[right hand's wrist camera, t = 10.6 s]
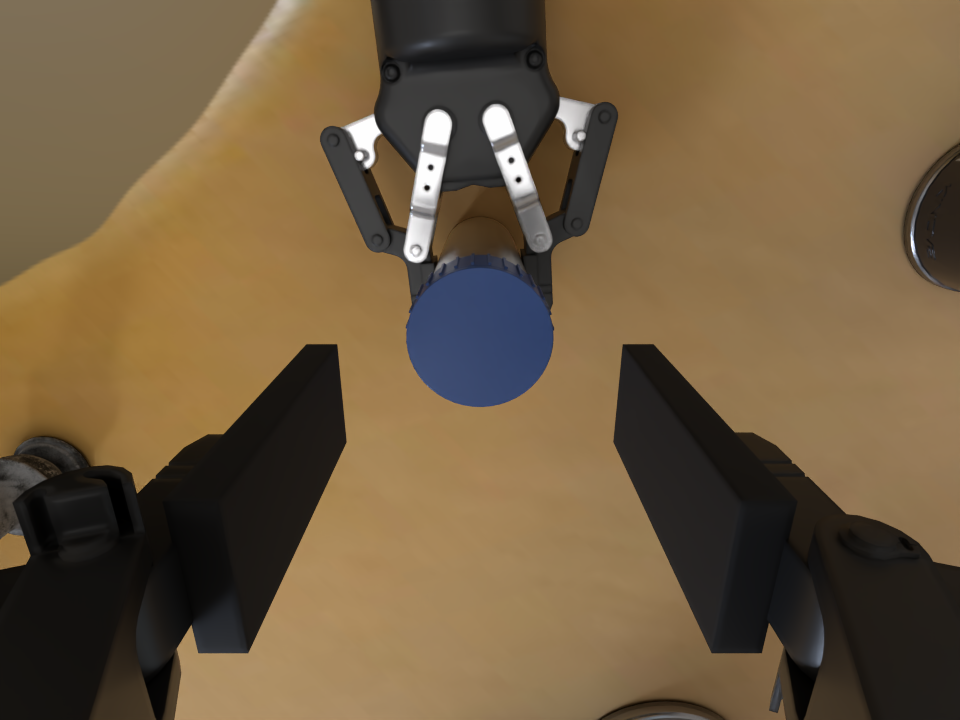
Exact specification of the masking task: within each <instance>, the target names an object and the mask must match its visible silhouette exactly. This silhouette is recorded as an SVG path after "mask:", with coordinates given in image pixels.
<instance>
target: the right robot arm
mask: <svg viewBox="0 0 960 720" xmlns="http://www.w3.org/2000/svg"><path fill="white" fill-rule="evenodd" d="M345 444H346V432H345V421H344V411H343V400H342V390H341V379H340V369H339V358H338V348H337V344H306V345H305V347H304V348H303V349H302V350H301V351H300V352H299V353H298V354H297V355H296V356H295V357H294V359H293V360H292V361H291V362H290V363H289V364H288V365H287V366H286V367H285V368H284V369H283V370H282V372H281V373H280V374H279V375H278V376H277V377H276V378H275V379H274V380H273V381H272V382H271V383H270V385H269V386H268V387H267V388H266V389H265V390H264V391H263V392H262V393H261V394H260V395H259V397H258V398H257V399H256V400H255V401H254V402H253V403H252V404H251V405H250V406H249V407H248V408H247V410H246V411H245V412H244V413H243V414H242V415H241V416H240V417H239V418H238V419H237V420H236V422H235V423H234V424H233V425H232V426H231V427H230V428H229V429H228V430H227V431H226V432H225V433H224V434H208V435H206V436H204V437H202V438H201V439H199V440H197V441H195V442H193V443H192V444H190V445H188V446H186V447H184V448H183V449H182V450H181V451H180V452H179V453H178V454H177V455H176V456H175V457H174V458H173V459H172V460H171V461H170V462H169V466H165V467H164V468H163V469H162V470H161V471H160V472H159V473H158V474H157V475H156V479H152V480H151V481H150V482H149V483H148V484H147V485H146V486H145V487H144V488H143V489H142V490H141V491H140V492H139V493H138V494H137V492H136V488H135V484H134V480H133V476H132V473H131V472H129V471H128V470H126V469H125V468H123V467H116V466H109V465H105V466H93V467H85V468H81V469H77V470H72V471H68V472H64V473H62V474H59V475H57V476H54V477H51V478H49V479H46V480H43V481H42V482H40V483H38V484H36V485H35V486H33V487H31V488H29V489H27V490H26V491H24V492H23V493H22V494H21V495H20V496H19V497H18V498H17V499H16V500H15V501H14V502H12V504H13V506H14V509H15V512H16V515H17V518H18V521H19V523H20V526H21V529H22V532H23V535H24V538H25V541H26V543H27V546H28V549H29V552H30V555H31V557H30V558H29V560H28V562H27V564H26V565H22V566H17V567H12V568H7V569H2V570H0V720H174V718H175V711H176V704H177V698H178V691H179V684H180V678H181V668H180V660H179V657H178V653H177V647H178V645H179V644H180V642H181V641H182V639H183V637H184V636H185V634H186V632H187V631H188V629H189V628H190V626H191V624H192V628H193V633H194V637H195V641H196V645H197V649H198V653H248V652H249V650H250V648H251V646H252V644H253V642H254V640H255V637H256V635H257V633H258V631H259V629H260V627H261V625H262V622H263V620H264V618H265V616H266V614H267V612H268V610H269V607H270V605H271V603H272V601H273V599H274V597H275V595H276V592H277V590H278V588H279V586H280V584H281V582H282V580H283V577H284V575H285V573H286V571H287V569H288V567H289V565H290V562H291V560H292V558H293V556H294V554H295V552H296V550H297V547H298V545H299V543H300V541H301V539H302V537H303V534H304V532H305V530H306V528H307V526H308V524H309V522H310V519H311V517H312V515H313V513H314V511H315V509H316V507H317V504H318V502H319V500H320V498H321V496H322V494H323V492H324V489H325V487H326V485H327V483H328V481H329V479H330V477H331V474H332V472H333V470H334V468H335V466H336V464H337V462H338V459H339V457H340V455H341V453H342V451H343V449H344V447H345ZM614 444H615V447H616V449H617V451H618V453H619V455H620V457H621V459H622V462H623V464H624V466H625V468H626V470H627V472H628V474H629V477H630V479H631V481H632V483H633V485H634V487H635V489H636V492H637V494H638V496H639V498H640V500H641V502H642V504H643V507H644V509H645V511H646V513H647V515H648V517H649V519H650V522H651V524H652V526H653V528H654V530H655V532H656V534H657V537H658V539H659V541H660V543H661V545H662V547H663V550H664V552H665V554H666V556H667V558H668V560H669V562H670V565H671V567H672V569H673V571H674V573H675V575H676V577H677V580H678V582H679V584H680V586H681V588H682V590H683V592H684V595H685V597H686V599H687V601H688V603H689V605H690V607H691V610H692V612H693V614H694V616H695V618H696V620H697V622H698V625H699V627H700V629H701V631H702V633H703V635H704V637H705V640H706V642H707V644H708V646H709V648H710V650H711V652H712V653H762V649H763V645H764V641H765V637H766V633H767V628H768V624H769V623H770V625H771V626H772V628H773V629H774V631H775V633H776V634H777V636H778V638H779V639H780V641H781V642H782V644H783V646H784V649H783V653H782V657H781V660H780V664H779V668H778V672H777V676H776V680H775V684H774V688H773V692H772V696H771V701H770V708H769V711H773V712H776V713H778V710H779V706H780V702H781V700H782V699H783V703H784V710H785V716H786V720H960V567H956V566H951V565H946V564H941V563H936V562H933V561H932V559H931V557H930V555H929V554H928V553H927V552H926V551H925V550H924V549H923V547H922V546H921V545H920V544H919V543H918V542H917V541H915V540H914V539H912V538H911V537H909V536H908V535H906V534H905V533H903V532H902V531H900V530H898V529H896V528H894V527H891V526H889V525H887V524H885V523H882V522H880V521H877V520H873V519H869V518H866V517H862V516H858V515H848V514H846V513H845V512H844V511H843V510H841V509H840V508H839V507H838V506H837V505H836V504H835V503H834V502H833V501H832V500H831V499H830V498H829V497H828V496H827V495H826V494H825V493H824V492H823V491H822V490H821V489H820V488H819V487H818V486H817V485H816V484H815V483H814V482H813V481H812V480H811V479H810V478H809V477H805V473H804V472H803V471H802V470H801V469H800V468H799V467H798V466H797V465H796V464H792V461H791V460H790V459H789V458H788V457H787V456H786V455H785V454H784V453H783V452H782V451H781V450H780V449H779V448H778V447H777V446H776V445H774V444H772V443H771V442H769V441H767V440H765V439H763V438H761V437H760V436H758V435H756V434H754V433H735V432H734V431H733V430H732V429H731V428H730V427H729V426H728V425H727V424H726V423H725V422H724V420H723V419H722V418H721V417H720V416H719V415H718V414H717V413H716V412H715V411H714V410H713V408H712V407H711V406H710V405H709V404H708V403H707V402H706V401H705V400H704V399H703V398H702V397H701V395H700V394H699V393H698V392H697V391H696V390H695V389H694V388H693V387H692V386H691V385H690V384H689V382H688V381H687V380H686V379H685V378H684V377H683V376H682V375H681V374H680V373H679V372H678V370H677V369H676V368H675V367H674V366H673V365H672V364H671V363H670V362H669V361H668V360H667V359H666V357H665V356H664V355H663V354H662V353H661V352H660V351H659V350H658V349H657V348H656V347H655V345H654V344H623V348H622V358H621V369H620V379H619V390H618V400H617V411H616V421H615V431H614ZM602 720H724V719H723V718H721V717H720V716H718V715H717V714H715V713H713V712H711V711H709V710H707V709H705V708H702V707H699V706H696V705H692V704H687V703H681V702H650V703H643V704H638V705H634V706H631V707H627V708H624V709H622V710H619V711H617V712H614V713H612V714H610V715H608V716H606V717H605V718H603V719H602Z"/></svg>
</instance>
